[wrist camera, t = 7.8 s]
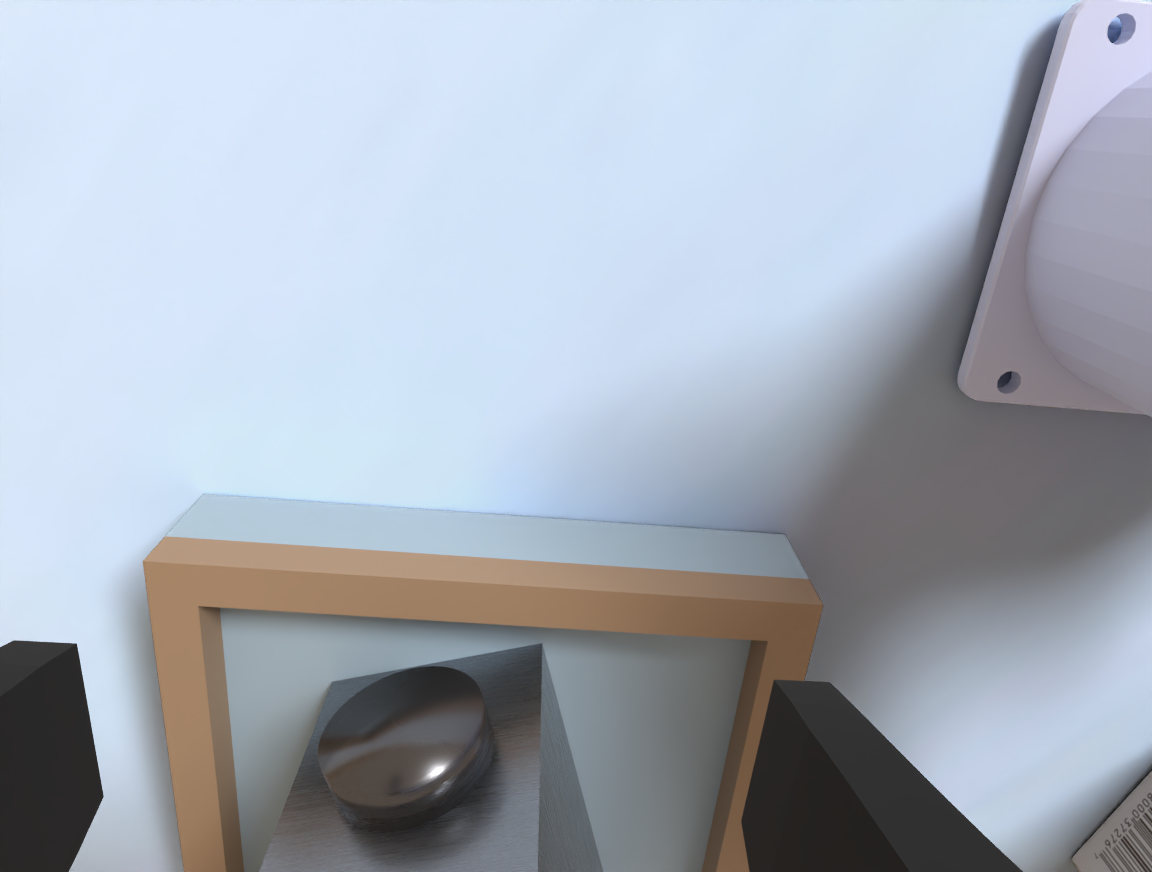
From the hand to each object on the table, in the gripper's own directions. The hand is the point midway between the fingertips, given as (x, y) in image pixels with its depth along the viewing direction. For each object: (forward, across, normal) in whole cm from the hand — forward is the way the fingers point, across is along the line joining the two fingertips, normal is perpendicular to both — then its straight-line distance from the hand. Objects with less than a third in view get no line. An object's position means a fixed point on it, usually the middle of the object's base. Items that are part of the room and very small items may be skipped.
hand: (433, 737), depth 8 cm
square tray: (+10, 0, +10) cm, 14 cm away
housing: (+8, 0, +10) cm, 13 cm away
